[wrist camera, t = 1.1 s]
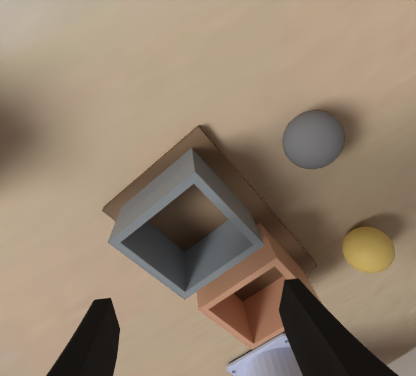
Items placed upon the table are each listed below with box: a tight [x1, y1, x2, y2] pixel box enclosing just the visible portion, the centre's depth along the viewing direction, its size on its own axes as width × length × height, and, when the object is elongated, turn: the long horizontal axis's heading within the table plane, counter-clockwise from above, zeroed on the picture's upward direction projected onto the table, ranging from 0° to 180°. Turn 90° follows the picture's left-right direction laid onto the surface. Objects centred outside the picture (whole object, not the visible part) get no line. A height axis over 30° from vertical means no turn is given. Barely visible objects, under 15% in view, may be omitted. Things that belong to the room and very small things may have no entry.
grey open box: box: [108, 148, 264, 299], centre depth 17 cm, size 7×7×4 cm
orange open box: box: [197, 223, 321, 350], centre depth 21 cm, size 7×7×4 cm
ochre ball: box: [342, 227, 395, 273], centre depth 21 cm, size 4×4×4 cm
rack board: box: [102, 126, 317, 301], centre depth 21 cm, size 16×9×1 cm, turn 40°
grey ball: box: [283, 110, 345, 169], centre depth 17 cm, size 4×4×4 cm
